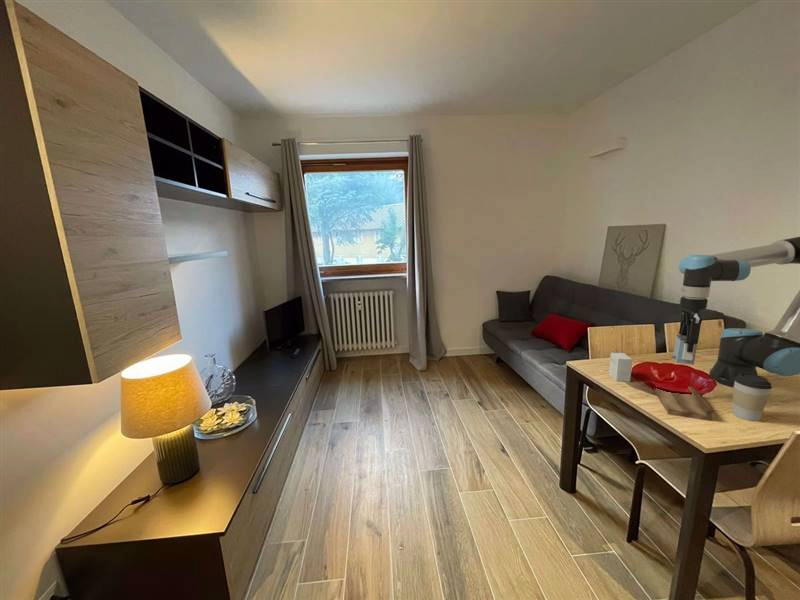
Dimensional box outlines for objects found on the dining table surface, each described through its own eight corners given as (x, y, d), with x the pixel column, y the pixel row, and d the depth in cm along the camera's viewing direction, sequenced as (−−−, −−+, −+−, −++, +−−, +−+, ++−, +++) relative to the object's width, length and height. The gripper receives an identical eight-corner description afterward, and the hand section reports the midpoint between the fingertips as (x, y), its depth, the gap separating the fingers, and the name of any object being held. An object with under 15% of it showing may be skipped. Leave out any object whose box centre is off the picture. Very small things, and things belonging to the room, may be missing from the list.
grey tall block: (689, 360, 128) (693, 336, 126) (693, 364, 124) (698, 340, 122) (669, 357, 131) (673, 334, 129) (673, 362, 126) (677, 338, 124)
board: (691, 396, 131) (693, 387, 130) (711, 421, 114) (713, 411, 113) (654, 390, 136) (655, 382, 135) (668, 414, 119) (669, 404, 118)
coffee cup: (763, 415, 116) (771, 375, 113) (766, 426, 110) (775, 384, 107) (727, 406, 122) (734, 368, 119) (728, 417, 116) (736, 377, 113)
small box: (630, 382, 144) (632, 359, 142) (615, 381, 145) (618, 358, 143) (622, 374, 151) (624, 352, 149) (608, 373, 153) (610, 352, 150)
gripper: (674, 292, 131) (666, 348, 136) (689, 301, 115) (679, 364, 120) (698, 293, 128) (689, 350, 133) (717, 303, 112) (706, 367, 117)
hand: (684, 356), depth 126 cm, fingers closed on grey tall block, 5 cm apart
